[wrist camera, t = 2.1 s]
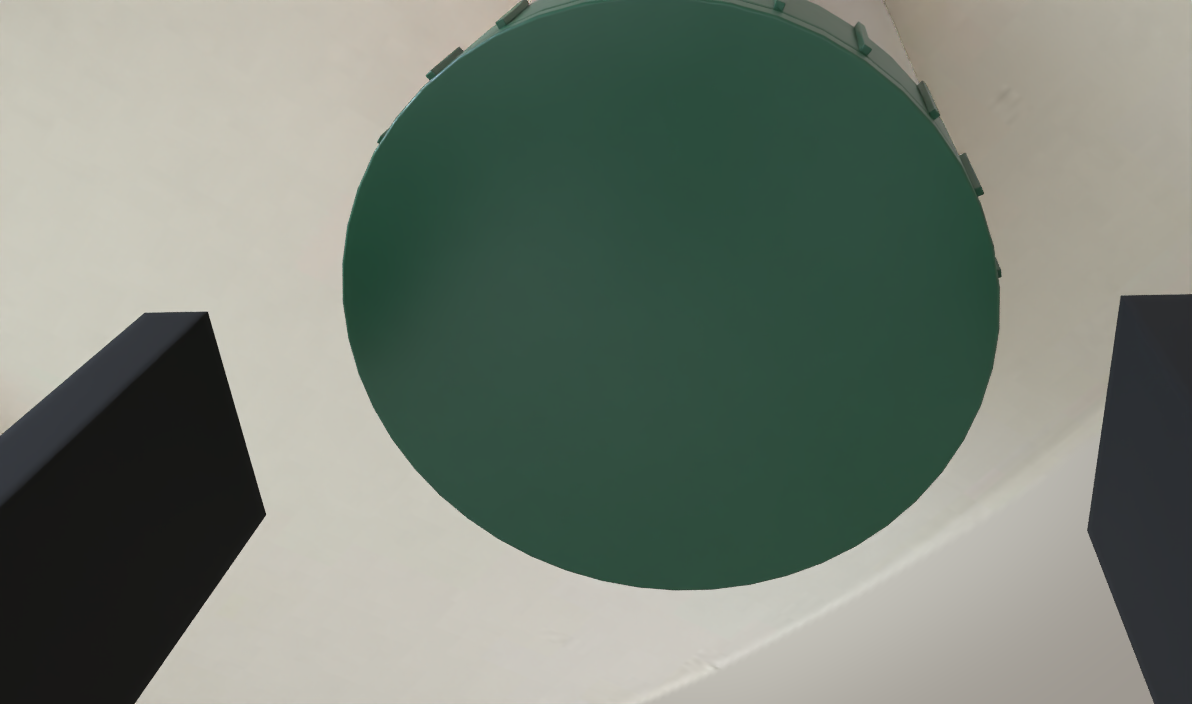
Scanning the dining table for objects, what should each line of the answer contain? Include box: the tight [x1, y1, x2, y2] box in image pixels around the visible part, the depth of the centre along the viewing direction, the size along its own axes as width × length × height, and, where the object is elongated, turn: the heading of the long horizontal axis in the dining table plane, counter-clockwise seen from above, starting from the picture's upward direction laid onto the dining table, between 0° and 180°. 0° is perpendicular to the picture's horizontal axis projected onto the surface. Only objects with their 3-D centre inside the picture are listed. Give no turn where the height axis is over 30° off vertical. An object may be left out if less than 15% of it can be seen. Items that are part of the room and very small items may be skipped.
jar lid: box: [342, 0, 1001, 590], centre depth 14 cm, size 8×8×2 cm
